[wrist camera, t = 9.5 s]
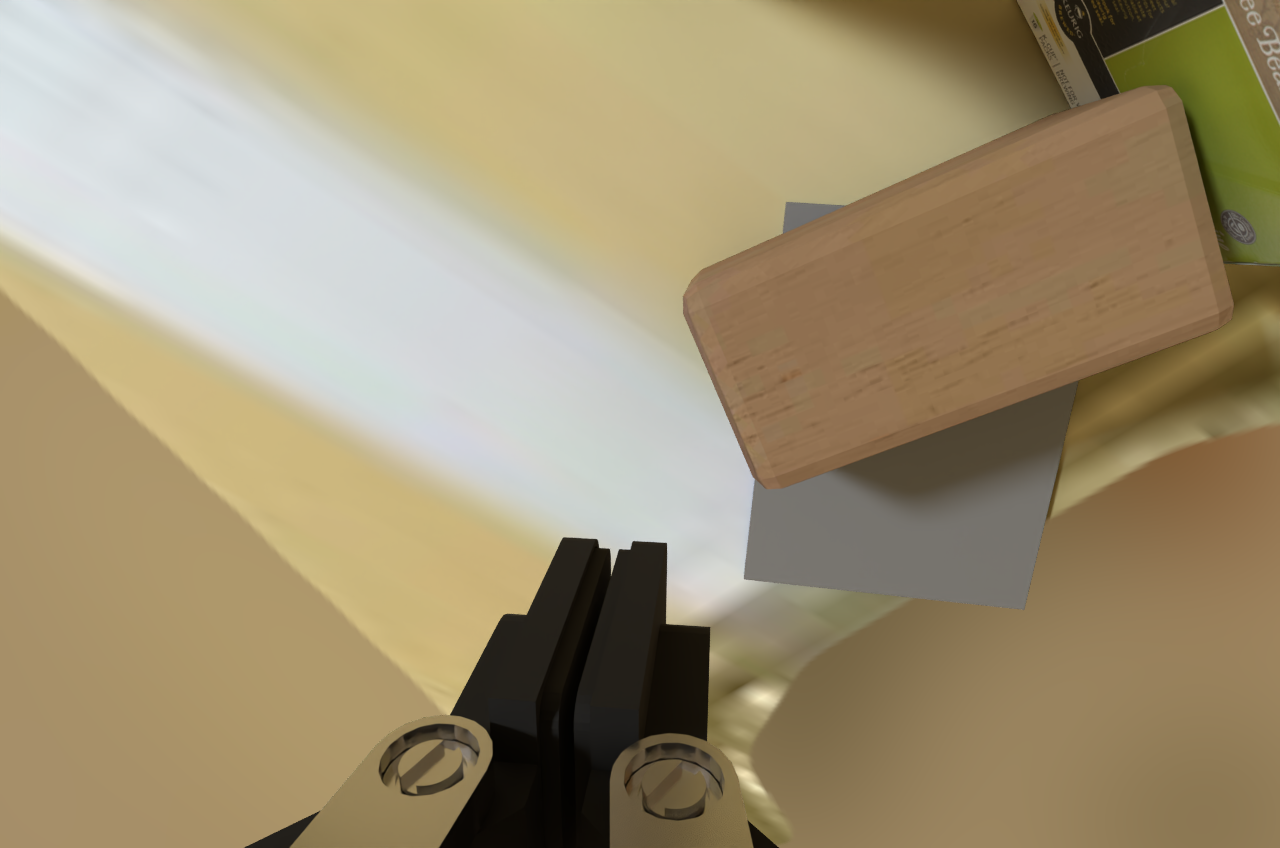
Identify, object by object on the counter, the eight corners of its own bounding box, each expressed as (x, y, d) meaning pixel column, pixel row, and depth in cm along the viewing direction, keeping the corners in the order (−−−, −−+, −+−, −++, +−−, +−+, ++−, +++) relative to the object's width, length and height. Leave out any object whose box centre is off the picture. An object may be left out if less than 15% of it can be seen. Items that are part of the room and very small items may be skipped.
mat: (786, 202, 38) (786, 202, 38) (1112, 222, 37) (1116, 222, 36) (744, 576, 44) (744, 579, 44) (1021, 606, 43) (1024, 609, 42)
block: (753, 438, 41) (1118, 298, 37) (762, 504, 32) (1253, 326, 28) (685, 276, 39) (1062, 108, 35) (672, 294, 30) (1188, 67, 26)
